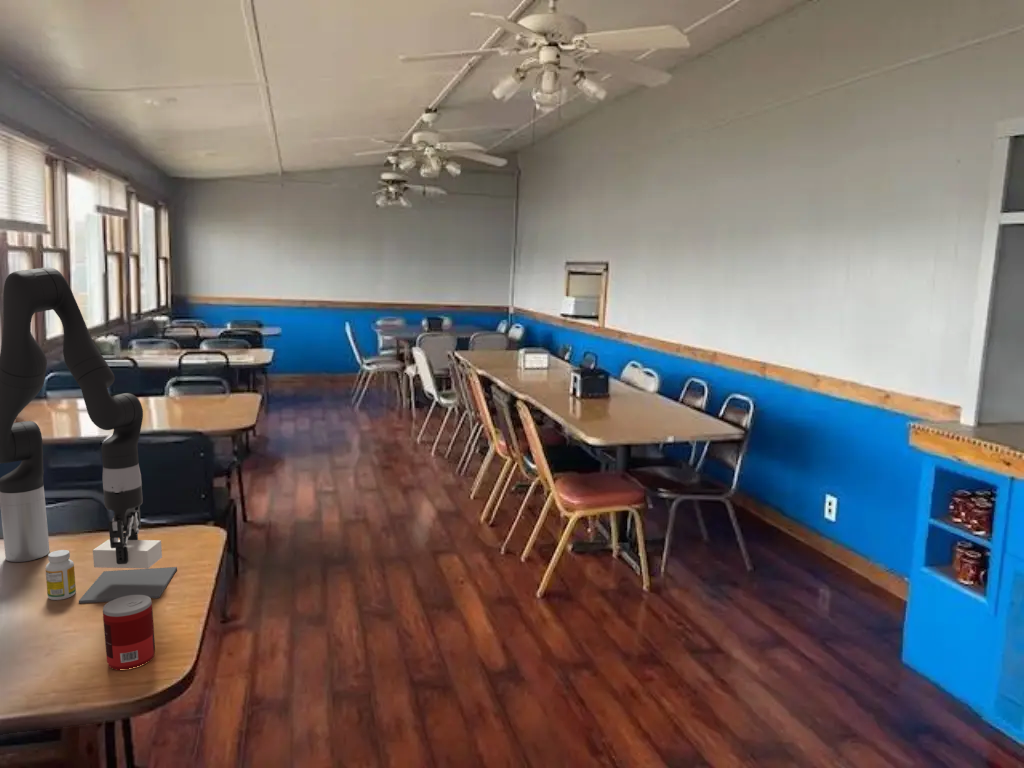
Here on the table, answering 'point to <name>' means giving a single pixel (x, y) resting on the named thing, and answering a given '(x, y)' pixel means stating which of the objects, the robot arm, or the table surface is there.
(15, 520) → the robot arm
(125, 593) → the mat
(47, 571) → the supplement bottle
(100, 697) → the table surface
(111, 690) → the table surface
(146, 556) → the riser block
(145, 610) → the canned food
